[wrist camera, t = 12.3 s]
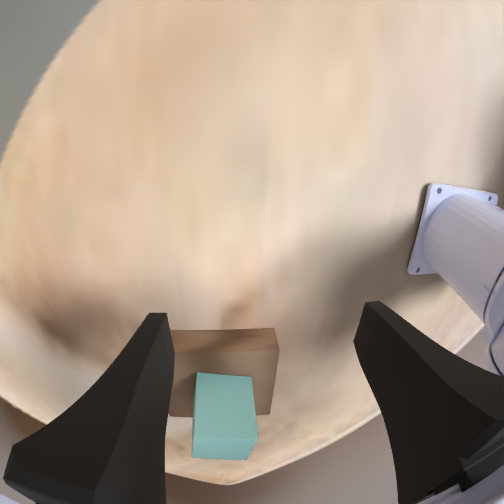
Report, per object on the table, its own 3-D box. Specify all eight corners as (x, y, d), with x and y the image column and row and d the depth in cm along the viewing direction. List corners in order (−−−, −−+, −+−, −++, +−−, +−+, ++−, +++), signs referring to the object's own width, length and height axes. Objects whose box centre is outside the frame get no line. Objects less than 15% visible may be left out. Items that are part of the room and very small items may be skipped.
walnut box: (273, 324, 25) (279, 349, 22) (265, 391, 29) (269, 414, 27) (154, 326, 24) (149, 351, 21) (172, 393, 28) (170, 416, 26)
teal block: (251, 376, 23) (258, 439, 18) (241, 404, 25) (246, 459, 20) (197, 372, 23) (194, 435, 17) (193, 400, 25) (191, 457, 19)
